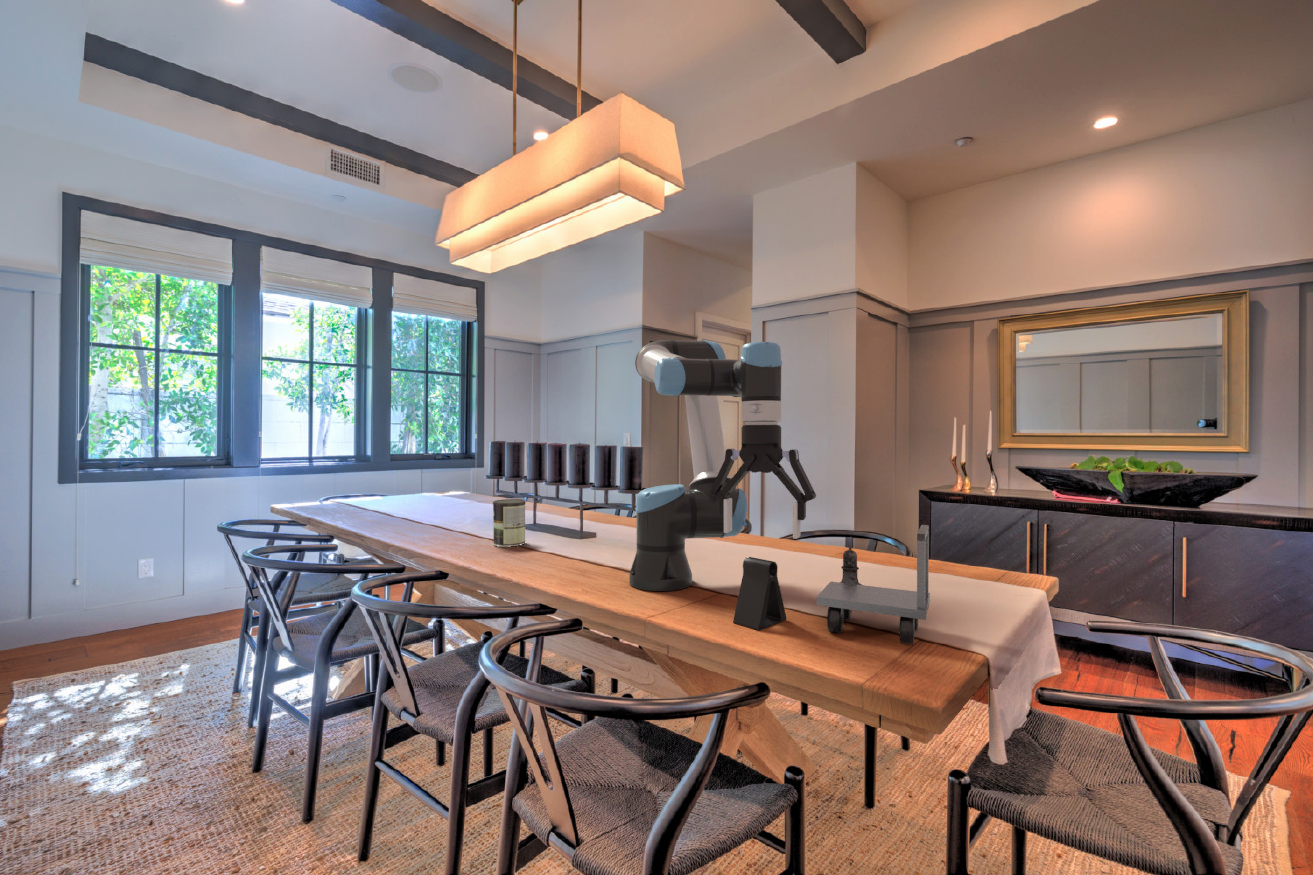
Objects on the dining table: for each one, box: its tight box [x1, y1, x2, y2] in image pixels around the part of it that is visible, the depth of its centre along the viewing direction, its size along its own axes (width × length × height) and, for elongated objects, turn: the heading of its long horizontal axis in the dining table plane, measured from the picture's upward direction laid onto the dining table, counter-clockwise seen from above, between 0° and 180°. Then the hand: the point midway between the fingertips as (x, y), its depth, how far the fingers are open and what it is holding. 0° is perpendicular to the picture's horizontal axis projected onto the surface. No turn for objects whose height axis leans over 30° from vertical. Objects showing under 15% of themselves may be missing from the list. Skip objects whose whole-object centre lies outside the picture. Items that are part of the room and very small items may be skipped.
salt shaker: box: [838, 546, 863, 585], centre depth 124 cm, size 6×6×12 cm
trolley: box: [816, 524, 931, 645], centre depth 107 cm, size 18×13×19 cm
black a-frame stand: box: [732, 556, 788, 631], centre depth 112 cm, size 9×6×12 cm, turn 133°
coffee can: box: [492, 498, 526, 548], centre depth 189 cm, size 10×10×14 cm
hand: (761, 534), depth 112 cm, fingers open, 13 cm apart
